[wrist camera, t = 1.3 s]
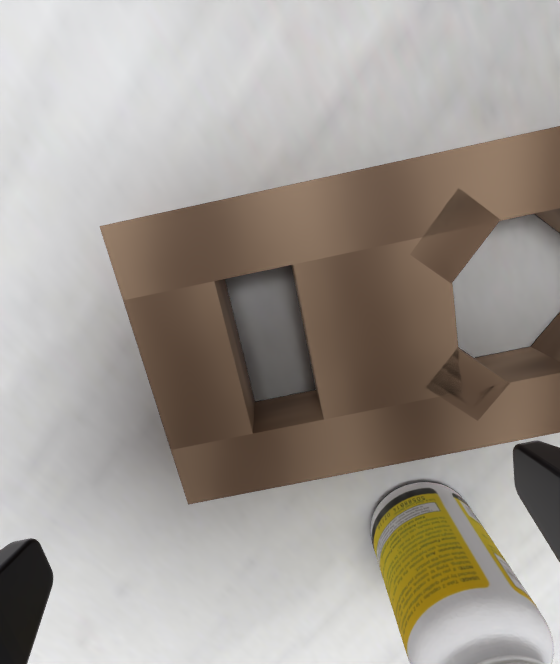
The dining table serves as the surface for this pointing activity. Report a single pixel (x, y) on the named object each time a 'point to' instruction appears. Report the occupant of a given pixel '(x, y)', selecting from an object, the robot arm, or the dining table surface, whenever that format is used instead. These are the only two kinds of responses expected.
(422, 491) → the supplement bottle
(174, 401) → the socket board
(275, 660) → the dining table surface
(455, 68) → the dining table surface
